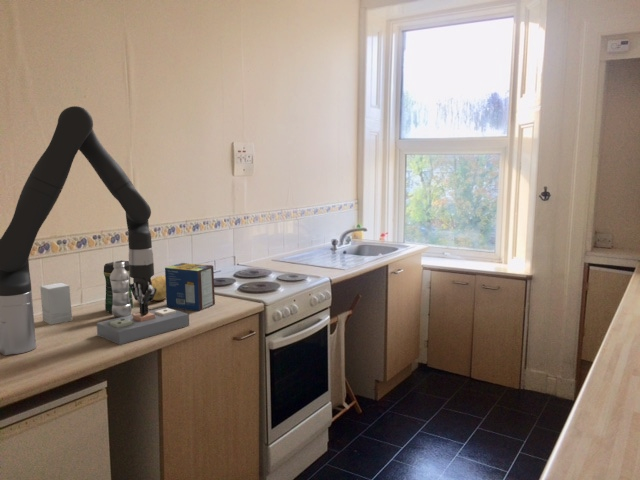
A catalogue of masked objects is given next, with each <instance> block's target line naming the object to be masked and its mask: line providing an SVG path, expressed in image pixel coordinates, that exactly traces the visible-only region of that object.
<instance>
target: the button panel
mask: <svg viewBox="0 0 640 480" xmlns="http://www.w3.org/2000/svg"><path fill="white" fill-rule="evenodd" d="M166 308H169V309H172V310H176V313H175V314H171V315H167V316H160V315H157V314H155V311H157V310H161V309H166ZM148 312H150V313H153V314H155V319H151V320H147V321H143V322H139V321H137V320H134V319H133V315H134V314H135V313H134V314H130V315H129V316H125V317H115V318H112V319H108V320H104V321H100V322H96V332H97V336H99V337H101V338H103V339H105V340H108V341H110V342H112V343H115V344H117V345H120V346H121V345H124V344H127V343H131V342H135V341H138V340H142V339H145V338H146V339H147V338H151V337H153V336H157V335H160V334H164V333H167V332H171V331H174V330H178V328H179V329H182V327H183V328H185V326H186V327H189V326H190V314H189V313H186V312H184V311H180V310H178V309H175V308H171V307H167V306H164V307H159V308H155V309H151V310H148ZM138 313H139V312H137V313H136V314H138ZM123 318H125V319H128V320H131V321H132V322H133V324H131V325H127V326H123V327H119V328H116V327H114V326H111V325H110V322H111V321H115V320H119V319H123Z"/></svg>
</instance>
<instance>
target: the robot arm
mask: <svg viewBox="0 0 640 480" xmlns="http://www.w3.org/2000/svg"><path fill="white" fill-rule="evenodd" d="M78 151H79V152H81V154H82V155H83V156H84V158H85V159H86V160H87V162H88V163H89V164H90V166H91V167H92V168H93V170H94V172H95V173H96V174H97V175H98V177H99V178H100V180H101V181H102V183H103V185H104V186H105V187H106V188H107V190H108V191H109V193H110V194H111V196H113V198H114V199H116V201H117V202H118V203H119V204H120V206H121V207H122V209H123V210H124V211H125V218H126V219H125V220H126V227H127V232H128V233H127V234H128V236H127V239H128V240H127V241H128V261H129V273H130V279H131V278H132V279H133V281H132V282H133V283H130V285H129V286H130V289H131V293H132V297H134V301H137V303H138V304H139V313H140V314H142V315H145V314H148V311H149V303H152V302H153V301H154V300H153V298H154V295H155V293H156V291H157V290H156V288H153V287H152V286H151V285H152V282H151V280H152V279H151V278H152V277H153V276H155V265H154V264H155V263H154V253H153V248H152V247H153V246H152V244H153V243H152V242H153V241H152V234H151V231H150V227H149V225H150V224H149V219H150V218H151V215H152V209H151V207H150V205H149V204H148V201H146V199H145V198H144V197H143V195H141V193H140V192H139V191H138V190H137V188H135V186H134V184H133V183H132V181H131V179H130V178H129V176H128V175H127V174H126V173H125V171H124V169H123V168H122V167H121V166H120V164H119V163H118V161H116V160H115V159H114V158H113V157H112V156H111V154H110V153H109V152H108V151H107V149H106V148H105V147H104V146H103V145H102V143H101V141H100V140H99V138H98V137H97V135H96V133H95V131H94V121H93V117H92V115H91V113H89V111H88V110H87V109H86V108H84V107H81V106H77V105H76V106H75V105H74V106H69V107H66V108H64V109H62V111H61V112H60V113H59V116H58V118H57V125H56V127H55V129H54V132H53V135H52V137H51V139H50V142H49V144H48V146H47V147H46V149H45V150H44V152H43V153H42V154H41V156H40V158H39V159H38V160H37V162H36V163H35V165H34V167H33V168H32V170H31V172H30V174H29V175H28V177H27V179H26V181H25V183H24V185H23V187H22V189H21V192H20V194H19V198H18V200H17V204H16V207H15V209H14V213H13V216H12V219H11V221H10V223H9V224H8V227H7V228H6V230H5V231H4V233H3V234H2V236H1V237H0V354H2V355H4V356H8V355H19V354H23V353H27V352H30V351H33V350H34V349H35V348H36V347H37V342H36V341H37V340H36V328H35V327H36V326H35V317H34V304H33V291H32V281H31V274H30V262H29V259H30V254H31V252H32V248H33V245H34V243H35V240H36V238H37V236H38V233H39V231H40V229H41V228H42V225H43V224H44V223H45V221H46V219H47V218H48V216H49V215H50V213H51V211H53V208H54V206H55V204H56V203H57V201H58V199H59V197H60V194H61V192H62V190H63V189H64V186H65V184H66V181H67V179H68V176H69V175H70V172H71V168H72V164H73V162H74V159H75V158H76V155H77V153H78Z"/></svg>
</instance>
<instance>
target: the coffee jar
mask: <svg viewBox="0 0 640 480" xmlns="http://www.w3.org/2000/svg"><path fill="white" fill-rule="evenodd" d="M120 261H124V262H125V267H124V269H125V270H126V271H127V272H128V274H129V285H130V284H131V277H130V273H129V260H123V259H122V260H120ZM113 262H114V261H112V262H108V263H105V264H104V265H103V275H104V278H105V303H104V306H105V308H104V310H105V311H106V312H108V313H110V314H113V313H112V305H113V292H112V286H111V282H110V274H111V273H112V271H113V270H114V268H113ZM129 299H130V304H131V308H132V309H133V308H134V301H133V293H132V291H131V289H130V286H129Z"/></svg>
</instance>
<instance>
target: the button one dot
mask: <svg viewBox="0 0 640 480" xmlns="http://www.w3.org/2000/svg"><path fill="white" fill-rule="evenodd" d="M169 308H170V307H167V308H166V309H161V310H157V311H155V314H157V315H160V316H167V315H171V314H175V313H176V310H177V309H174V310H172V309H173V308H171V309H169Z"/></svg>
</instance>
